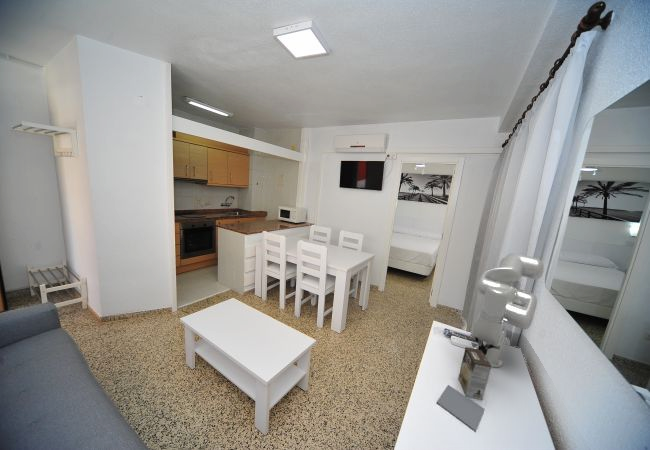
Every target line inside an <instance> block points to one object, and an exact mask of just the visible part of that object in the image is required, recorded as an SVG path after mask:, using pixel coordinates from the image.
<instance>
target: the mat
mask: <svg viewBox="0 0 650 450" xmlns="http://www.w3.org/2000/svg"><path fill="white" fill-rule="evenodd" d="M436 404H437V405H438V406H440V407H441V408H442V409H444V410H445V411H446V412H448V413H449V414H450V415H452V416H453V417H454V418H456V419H457V420H459V421H460V422H462V424H464V425H465V426H467V427H468V428H470V430H472V431H473V432H475V433H476V432H477V428H478V426H479V424H480V422H481V419H482V417H483V415H484V412H485V407H483V406H482V405H480V404H478V403H477V402H475V401H474V400H473V399H472V398H470V397H466V395H465V394H463V393H462V392H460V391H458V390H457V389H455V388H454V387H453V386H452V385H449V384H448V385H447V386H446V387H445V389H444V390H443V392H442V393H441V395H440V397H439V398H438V399H437V401H436Z"/></svg>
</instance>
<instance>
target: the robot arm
mask: <svg viewBox="0 0 650 450" xmlns="http://www.w3.org/2000/svg"><path fill="white" fill-rule="evenodd" d="M544 267H545V265H544V262H543V261H542V260H540V259H539V258H537V257H532V256H528V255H523V254H520V253H508V254H506V255H505V256H504V257H503V258H501V260H500V262H499V265H498V267H496V268H491V269H487V270H486V271H484V272H483V273H482V274H481V275H480V277H479V279H478V281H477V283H476V286H475V287H476V288H475V289H476V291H477V293H478V294H480V295H482V296H483V301H482V305H481V308H480V312H479V313H478V314H477V316H476V318H475V320H474V323H473V325H472V328H471V333H470V337H471V338H473V339H475V341H476V342H477V344H476V347H477V348H476V349H478V350H482V352H483V353H484V355H485V357H486V358H487V360H488V361H489V363H490V365H491V366H492V367H491V368H501V367H502V366H503V359H502V358H501V354H502V351H503V346H504V345H505V344H504V343H505V340H506V336H507V326H506V324H508V325H510V326H513V327H515V328H517V329H521V330H528V329H529V328H530V327H531V326H532V323H533V319H534V317H535V313H536V310H537V305H538V298H537V296H536V295H535V294H534V293H532V292H530V291H527V290H524V289H521V282H520V281H519V280H520V279H521V277H523V278H528V279H531V280H540V279H541V278H542V276H543V274H544V269H545V268H544ZM505 323H506V324H505ZM472 348H473V347H472ZM473 349H474V348H473Z"/></svg>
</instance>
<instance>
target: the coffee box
mask: <svg viewBox="0 0 650 450" xmlns="http://www.w3.org/2000/svg"><path fill="white" fill-rule="evenodd" d="M461 361H462V362H461V365H460V371H459V374H458V378H457V379H458V380H459V383H460V386H461V388H462V390H463V393H464V395H465V396H466V397H468V398H469V399H475V400H481V401H483V398H484V395H485V391H486V387H487V384H488V382H489V381H488V380H489V377H490V373H491V369H492V368H493V367H492V366H491V365H490V363H489V361H488V360H487V358H486V357H485V355H484V353H483V352H482V350H478V349H473V347H467V346H466V347H465V349H464V352H463V356H462V360H461Z"/></svg>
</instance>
